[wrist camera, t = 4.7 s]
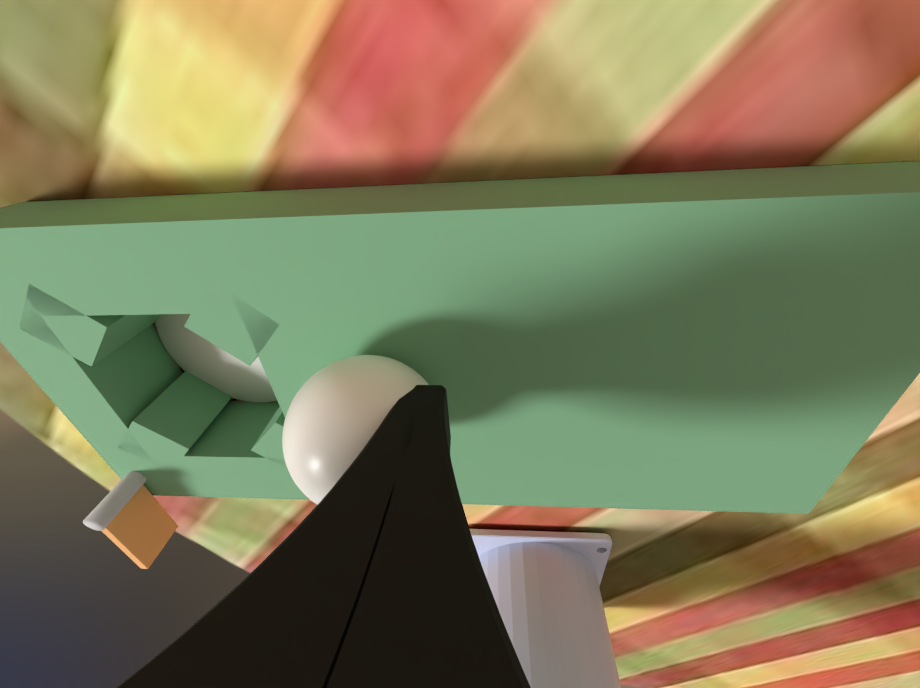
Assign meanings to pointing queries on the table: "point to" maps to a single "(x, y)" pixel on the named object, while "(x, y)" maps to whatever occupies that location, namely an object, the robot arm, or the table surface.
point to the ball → (340, 417)
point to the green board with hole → (483, 330)
